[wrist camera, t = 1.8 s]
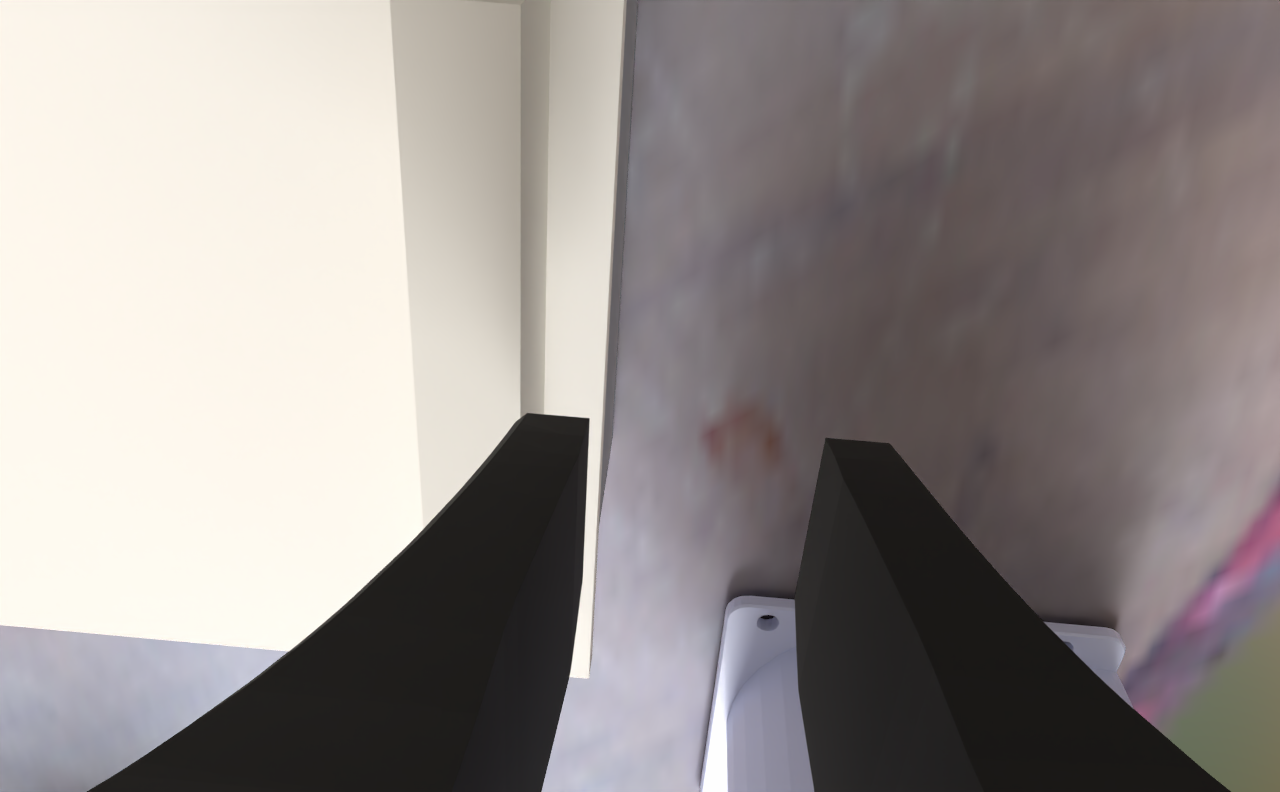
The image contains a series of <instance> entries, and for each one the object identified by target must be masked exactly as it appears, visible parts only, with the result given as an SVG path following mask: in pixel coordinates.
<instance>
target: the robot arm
mask: <svg viewBox="0 0 1280 792" xmlns="http://www.w3.org/2000/svg"><path fill="white" fill-rule="evenodd" d="M589 422H590V418H582V417H570V416H558V415H546V414H534V413H526V414H525V415H524V416H522V417H521V418H520V419H519V420H517V421H516V422H515V423H514V424H513V426H512V427H511V428H510V430H509V431H508V432H507V434H506V435H505V436H504V438H503V439H502V440H501V441H500V443H499V444H498V445H497V446H496V448H495V449H494V450H493V451H492V453H491V454H490V455H489V456H488V458H487V459H486V460H485V461H484V462H483V464H482V465H481V466H480V467H479V468H478V469H477V471H476V472H475V473H474V474H473V475H472V476H471V478H470V479H469V480H468V481H467V482H466V483H465V484H464V486H463V487H462V488H461V489H460V490H459V491H458V492H457V494H456V495H455V496H454V497H453V498H452V499H451V500H450V501H449V502H448V503H447V504H446V505H445V506H444V507H443V508H442V510H441V511H440V512H439V513H438V514H437V515H436V516H435V517H434V518H433V519H432V520H431V521H430V522H429V523H428V525H427V526H426V527H425V528H424V529H423V530H422V531H421V532H420V533H419V534H418V535H417V536H416V537H415V538H414V539H413V540H412V541H411V542H410V543H409V544H408V545H407V546H406V547H405V548H404V549H403V550H402V551H401V552H400V553H399V554H398V555H397V556H396V557H395V558H394V559H393V560H392V561H391V562H390V563H388V564H387V565H386V566H385V567H384V568H383V569H382V570H381V571H380V572H379V573H378V574H377V575H376V576H375V577H374V578H373V579H372V580H370V581H369V582H368V583H367V584H366V585H365V586H364V587H363V588H362V589H361V590H360V591H359V592H358V593H357V594H356V595H355V596H354V597H352V598H351V599H350V600H349V601H348V602H347V603H346V604H345V605H344V606H342V607H341V608H340V609H339V610H338V611H337V612H336V613H334V614H333V615H332V616H331V617H330V618H329V619H327V620H326V621H325V622H324V623H323V624H322V625H320V626H319V627H318V628H317V629H316V630H315V631H313V632H312V633H311V634H310V635H308V636H307V637H306V638H305V639H304V640H302V641H301V642H300V643H299V644H298V645H296V646H295V647H294V648H293V649H291V650H290V651H289V652H287V653H286V654H285V655H284V656H282V657H281V658H280V659H279V660H277V661H276V662H275V663H273V664H272V665H271V666H270V667H268V668H267V669H266V670H265V671H263V672H262V673H261V674H260V675H258V676H257V677H256V678H254V679H253V680H252V681H250V682H249V683H248V684H246V685H245V686H243V687H242V688H241V689H239V690H238V691H236V692H235V693H234V694H232V695H231V696H229V697H228V698H227V699H225V700H224V701H222V702H221V703H220V704H218V705H217V706H215V707H214V708H213V709H211V710H210V711H209V712H207V713H206V714H204V715H203V716H202V717H200V718H199V719H197V720H196V721H195V722H193V723H192V724H190V725H189V726H188V727H186V728H185V729H183V730H182V731H180V732H179V733H177V734H176V735H174V736H173V737H171V738H170V739H168V740H167V741H166V742H164V743H163V744H161V745H160V746H158V747H157V748H155V749H154V750H152V751H151V752H149V753H148V754H146V755H145V756H143V757H142V758H140V759H139V760H137V761H136V762H134V763H133V764H131V765H130V766H128V767H127V768H125V769H123V770H122V771H120V772H119V773H117V774H115V775H114V776H112V777H110V778H109V779H107V780H106V781H104V782H102V783H101V784H99V785H97V786H96V787H94V788H92V789H91V790H89V791H87V792H541V790H542V786H543V782H544V778H545V774H546V770H547V766H548V762H549V758H550V754H551V750H552V746H553V742H554V738H555V734H556V729H557V725H558V721H559V717H560V713H561V709H562V705H563V701H564V696H565V692H566V688H567V684H568V680H569V676H570V671H571V665H572V658H573V650H574V643H575V635H576V628H577V620H578V612H579V604H580V597H581V589H582V581H583V562H584V539H585V515H586V492H587V469H588V446H589ZM763 615H772V616H775V617H774V618H772V619H766V620H765V619H762V618H760V617H761V616H763ZM1063 641H1066V642H1065V643H1064V642H1063ZM1125 649H1126V647H1125V645H1124V643H1123V641H1122V639H1121V637H1120V635H1119V633H1118V632H1116V631H1115V630H1114V629H1110V628H1106V627H1096V626H1085V625H1073V624H1062V623H1051V622H1043V621H1042V620H1041V619H1040V618H1039V616H1038V615H1037V614H1036V613H1035V612H1034V611H1033V610H1032V609H1031V608H1030V607H1029V606H1028V605H1027V604H1026V603H1025V602H1024V601H1023V599H1022V598H1021V597H1020V596H1019V595H1018V594H1017V593H1016V592H1015V591H1014V590H1013V589H1012V588H1011V587H1010V585H1009V584H1008V583H1007V582H1006V581H1005V580H1004V579H1003V578H1002V577H1001V576H1000V574H999V573H998V572H997V571H996V570H995V569H994V568H993V567H992V565H991V564H990V563H989V562H988V561H987V560H986V559H985V557H984V556H983V555H982V554H981V553H980V552H979V551H978V550H977V548H976V547H975V546H974V545H973V544H972V543H971V541H970V540H969V539H968V538H967V537H966V536H965V534H964V533H963V532H962V531H961V530H960V529H959V527H958V526H957V525H956V524H955V522H954V521H953V520H952V519H951V518H950V516H949V515H948V514H947V513H946V512H945V510H944V509H943V508H942V507H941V506H940V504H939V503H938V502H937V501H936V499H935V498H934V497H933V496H932V495H931V493H930V492H929V491H928V490H927V488H926V487H925V486H924V485H923V484H922V482H921V481H920V480H919V479H918V477H917V476H916V475H915V474H914V473H913V471H912V470H911V469H910V468H909V466H908V465H907V464H906V463H905V461H904V460H903V459H902V458H901V457H900V455H899V454H898V453H897V452H896V451H895V449H894V448H893V447H892V446H891V445H890V444H889V443H878V442H866V441H854V440H842V439H830V438H826V439H825V444H824V449H823V454H822V459H821V464H820V470H819V475H818V480H817V485H816V490H815V495H814V500H813V505H812V511H811V516H810V521H809V526H808V531H807V536H806V541H805V547H804V552H803V557H802V562H801V567H800V572H799V577H798V582H797V588H796V593H795V600H793V599H782V598H771V597H760V596H739V597H737V598H734V599H733V600H732V601H730V602H729V603H728V605H727V608H726V611H725V618H724V625H723V632H722V639H721V646H720V652H719V659H718V666H717V673H716V680H715V687H714V694H713V701H712V707H711V714H710V721H709V728H708V735H707V742H706V749H705V755H704V762H703V769H702V776H701V783H700V790H699V792H1231V791H1229V790H1228V789H1227V788H1226V787H1224V786H1223V785H1222V784H1221V783H1219V782H1218V781H1217V780H1216V779H1214V778H1213V777H1212V776H1211V775H1210V774H1208V773H1207V772H1206V771H1205V770H1204V769H1202V768H1201V767H1200V766H1199V765H1198V764H1196V763H1195V762H1194V761H1193V760H1192V759H1191V758H1189V757H1188V756H1187V755H1186V754H1185V753H1184V752H1183V751H1181V750H1180V749H1179V748H1178V747H1177V746H1176V745H1175V744H1173V743H1172V742H1171V741H1170V740H1169V739H1168V738H1166V737H1165V736H1164V735H1163V734H1162V733H1161V732H1160V731H1158V730H1157V729H1156V728H1155V727H1154V726H1153V725H1151V724H1150V723H1149V722H1148V721H1147V720H1146V719H1145V718H1143V717H1142V716H1141V715H1140V714H1139V713H1138V712H1136V711H1135V710H1134V708H1133V706H1132V704H1131V702H1130V700H1129V698H1128V696H1127V693H1126V691H1125V689H1124V687H1123V685H1122V683H1121V681H1120V678H1119V676H1118V674H1117V670H1118V668H1119V666H1120V663H1121V661H1122V659H1123V657H1124V654H1125Z"/></svg>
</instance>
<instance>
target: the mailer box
mask: <svg viewBox="0 0 1280 792" xmlns="http://www.w3.org/2000/svg"><path fill="white" fill-rule="evenodd" d="M637 9H638V0H627V4H626V23H625V42H624V61H623V80H622V99H621V118H620V137H619V155H618V174H617V193H616V212H615V231H614V250H613V269H612V288H611V306H610V325H609V344H608V363H607V382H606V401H605V420H604V439H603V457H602V476H601V495H600V514H599V522H600V516H601V509H602V503H603V496H604V490H605V483H606V477H607V470H608V464H609V457H610V450H611V444H612V436H613V419H614V402H615V385H616V368H617V351H618V333H619V316H620V299H621V282H622V265H623V248H624V231H625V214H626V197H627V180H628V163H629V146H630V128H631V111H632V94H633V77H634V60H635V43H636V26H637Z"/></svg>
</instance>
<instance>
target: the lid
mask: <svg viewBox="0 0 1280 792" xmlns="http://www.w3.org/2000/svg"><path fill="white" fill-rule="evenodd" d="M626 4H627V0H0V625H5V626H16V627H27V628H38V629H49V630H60V631H71V632H82V633H93V634H104V635H115V636H126V637H137V638H148V639H159V640H170V641H181V642H192V643H203V644H214V645H225V646H236V647H246V648H257V649H268V650H279V651H290V650H291V649H293V648H294V647H295V646H296V645H298V644H299V643H300V642H301V641H302V640H304V639H305V638H306V637H307V636H308V635H310V634H311V633H312V632H313V631H315V630H316V629H317V628H318V627H319V626H320V625H322V624H323V623H324V622H325V621H326V620H327V619H329V618H330V617H331V616H332V615H333V614H334V613H336V612H337V611H338V610H339V609H340V608H341V607H342V606H344V605H345V604H346V603H347V602H348V601H349V600H350V599H351V598H352V597H354V596H355V595H356V594H357V593H358V592H359V591H360V590H361V589H362V588H363V587H364V586H365V585H366V584H367V583H368V582H369V581H370V580H372V579H373V578H374V577H375V576H376V575H377V574H378V573H379V572H380V571H381V570H382V569H383V568H384V567H385V566H386V565H387V564H388V563H390V562H391V561H392V560H393V559H394V558H395V557H396V556H397V555H398V554H399V553H400V552H401V551H402V550H403V549H404V548H405V547H406V546H407V545H408V544H409V543H410V542H411V541H412V540H413V539H414V538H415V537H416V536H417V535H418V534H419V533H420V532H421V531H422V530H423V529H424V528H425V527H426V526H427V525H428V523H429V522H430V521H431V520H432V519H433V518H434V517H435V516H436V515H437V514H438V513H439V512H440V511H441V510H442V508H443V507H444V506H445V505H446V504H447V503H448V502H449V501H450V500H451V499H452V498H453V497H454V496H455V495H456V494H457V492H458V491H459V490H460V489H461V488H462V487H463V486H464V484H465V483H466V482H467V481H468V480H469V479H470V478H471V476H472V475H473V474H474V473H475V472H476V471H477V469H478V468H479V467H480V466H481V465H482V464H483V462H484V461H485V460H486V459H487V458H488V456H489V455H490V454H491V453H492V451H493V450H494V449H495V448H496V446H497V445H498V444H499V443H500V441H501V440H502V439H503V438H504V436H505V435H506V434H507V432H508V431H509V430H510V428H511V427H512V426H513V424H514V423H515V422H516V421H517V420H519V419H520V418H521V417H522V416H524V415H525V414H526V413H534V414H546V415H558V416H570V417H582V418H590V422H589V446H588V469H587V492H586V515H585V539H584V562H583V581H582V589H581V597H580V604H579V612H578V620H577V628H576V635H575V643H574V650H573V658H572V665H571V671H570V676H569V677H575V678H586V679H589V674H590V667H591V660H592V646H593V627H594V608H595V590H596V571H597V552H598V533H599V514H600V495H601V476H602V457H603V439H604V420H605V401H606V382H607V363H608V344H609V325H610V306H611V288H612V269H613V250H614V231H615V212H616V193H617V174H618V155H619V137H620V118H621V99H622V80H623V61H624V42H625V23H626Z"/></svg>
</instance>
